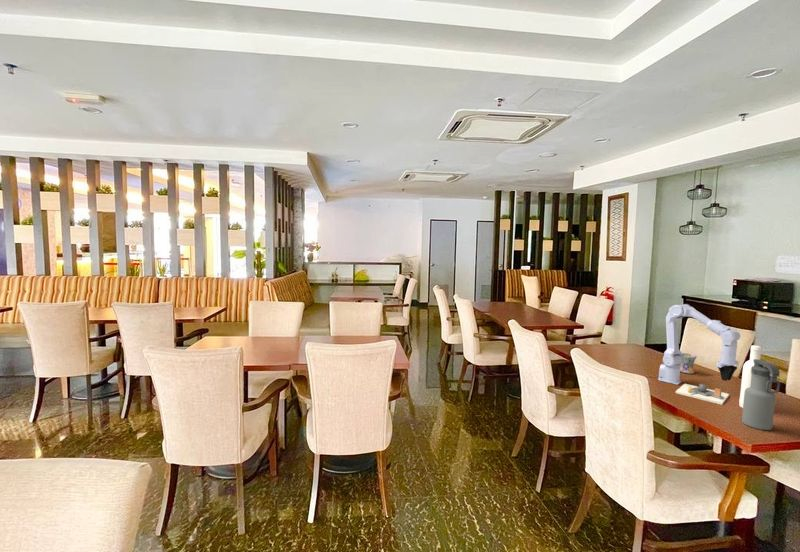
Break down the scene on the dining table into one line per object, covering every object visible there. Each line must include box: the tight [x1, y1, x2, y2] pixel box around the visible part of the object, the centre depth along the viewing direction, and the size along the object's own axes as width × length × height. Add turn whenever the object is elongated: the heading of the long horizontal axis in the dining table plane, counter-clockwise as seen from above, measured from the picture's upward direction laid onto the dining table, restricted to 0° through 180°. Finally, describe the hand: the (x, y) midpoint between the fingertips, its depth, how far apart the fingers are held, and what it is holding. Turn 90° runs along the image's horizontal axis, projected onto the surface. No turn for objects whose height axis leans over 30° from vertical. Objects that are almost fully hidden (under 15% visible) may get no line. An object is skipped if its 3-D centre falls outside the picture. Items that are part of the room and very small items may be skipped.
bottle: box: [738, 344, 765, 409], centre depth 187 cm, size 8×8×30 cm
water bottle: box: [741, 359, 781, 431], centre depth 168 cm, size 10×10×28 cm
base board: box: [675, 383, 730, 406], centre depth 204 cm, size 19×18×5 cm
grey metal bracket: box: [692, 386, 724, 399], centre depth 202 cm, size 13×8×4 cm, turn 22°
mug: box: [680, 352, 698, 375], centre depth 242 cm, size 12×9×11 cm
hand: (726, 379), depth 199 cm, fingers closed
